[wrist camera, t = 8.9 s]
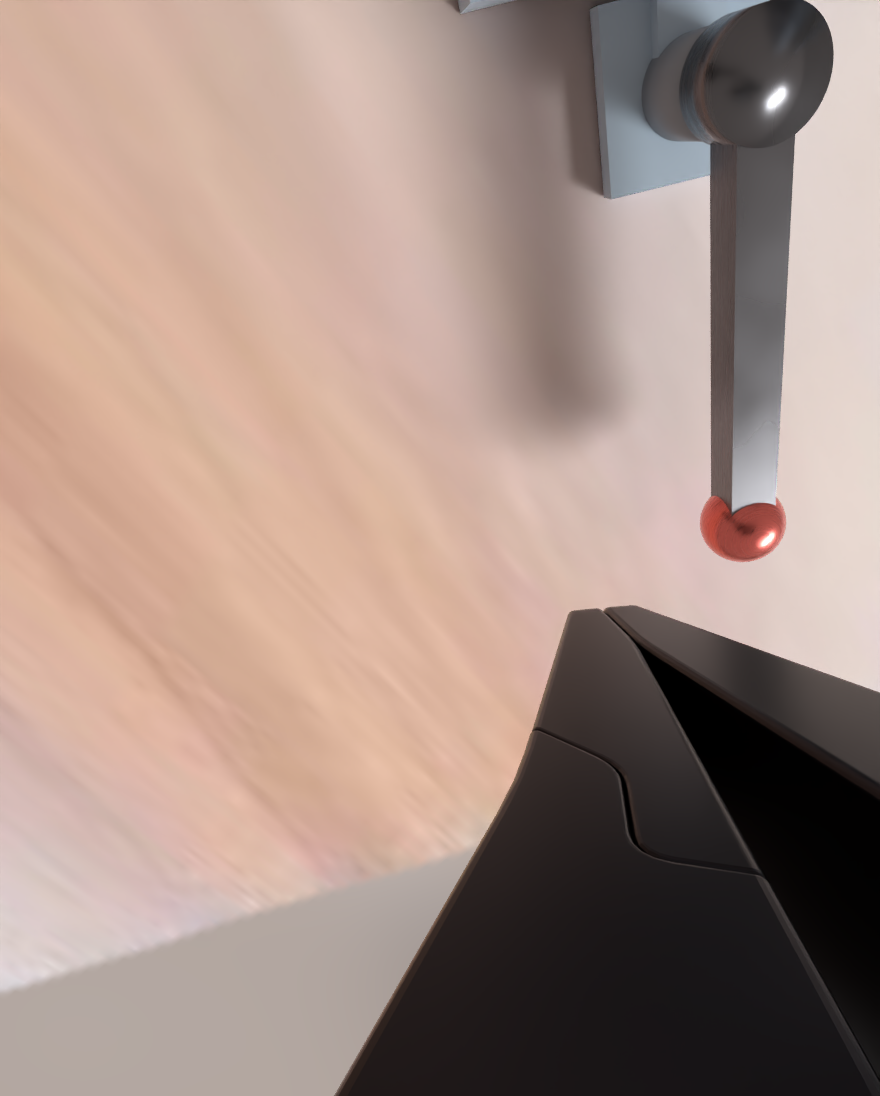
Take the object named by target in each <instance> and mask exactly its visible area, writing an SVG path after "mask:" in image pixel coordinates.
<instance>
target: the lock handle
mask: <svg viewBox="0 0 880 1096" xmlns="http://www.w3.org/2000/svg"><path fill="white" fill-rule="evenodd" d="M832 67H833V42H832V37H831V33H830V30H829V27H828V25H827V23H826V21H825V19H824V17H823V16H822V15H821V13H820V12H819V11H818V10H817V9H816V8H815V7H814V6H813V5H811V4H810V3H808V2H806V1H804V0H769V1H766V2H763V3H760V4H757V5H753V6H750V7H747V8H744V9H741V10H738V11H735V12H732V13H729V14H726V15H724V16H722V17H720V18H719V19H717V20H716V21H714V22H713V23H712V24H711V25H710V26H708V27H707V28H706V29H705V30H704V31H703V32H702V34H701V35H700V36H699V37H698V39H697V40H696V41H695V43H694V44H693V46H692V48H691V50H690V51H689V54H688V56H687V58H686V60H685V63H684V66H683V69H682V73H681V78H680V85H679V101H680V108H681V112H682V115H683V118H684V121H685V123H686V125H687V127H688V128H689V130H690V131H691V132H692V133H693V134H694V136H695V137H696V138H698V139H699V140H700V141H702V142H704V143H706V144H708V145H710V233H711V497H710V498H709V499H708V501H707V502H706V504H705V506H704V508H703V510H702V513H701V517H700V529H701V533H702V536H703V538H704V540H705V542H706V544H707V545H708V546H709V548H710V549H711V550H712V551H713V552H715V553H716V554H717V555H719V556H721V557H723V558H725V559H728V560H731V561H736V562H749V561H754V560H757V559H760V558H762V557H764V556H766V555H768V554H769V553H770V552H772V551H773V550H774V549H775V548H776V547H777V546H778V544H779V543H780V541H781V539H782V538H783V535H784V532H785V528H786V516H785V512H784V509H783V506H782V505H781V503H780V501H779V500H778V499H777V497H776V487H777V468H778V449H779V430H780V411H781V392H782V373H783V354H784V335H785V316H786V296H787V277H788V258H789V239H790V220H791V201H792V182H793V163H794V144H795V134H796V133H797V132H798V131H799V130H800V129H801V128H802V127H803V126H804V125H805V124H806V123H807V122H808V121H809V120H810V119H811V117H812V116H813V115H814V113H815V112H816V110H817V109H818V107H819V105H820V103H821V102H822V100H823V97H824V95H825V93H826V91H827V88H828V85H829V82H830V78H831V73H832Z"/></svg>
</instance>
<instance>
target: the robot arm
mask: <svg viewBox="0 0 880 1096" xmlns="http://www.w3.org/2000/svg"><path fill="white" fill-rule="evenodd" d="M334 1096H880V693H879V692H877V691H874V690H871V689H868V688H865V687H863V686H860V685H857V684H854V683H851V682H849V681H846V680H843V679H840V678H837V677H835V676H832V675H829V674H826V673H823V672H821V671H818V670H815V669H812V668H809V667H807V666H804V665H801V664H798V663H795V662H793V661H790V660H787V659H784V658H781V657H779V656H776V655H773V654H770V653H767V652H765V651H762V650H759V649H756V648H753V647H751V646H748V645H745V644H742V643H739V642H736V641H734V640H731V639H728V638H725V637H722V636H720V635H717V634H714V633H711V632H708V631H706V630H703V629H700V628H697V627H694V626H692V625H689V624H686V623H683V622H680V621H678V620H675V619H672V618H669V617H666V616H664V615H661V614H658V613H655V612H652V611H650V610H647V609H644V608H641V607H638V606H633V605H629V606H618V607H609V608H606V609H605V610H604V611H602V610H600V609H597V608H596V609H585V610H574V611H571V612H570V613H569V614H568V617H567V620H566V623H565V627H564V630H563V633H562V636H561V640H560V643H559V646H558V649H557V652H556V656H555V659H554V662H553V665H552V669H551V672H550V675H549V678H548V681H547V685H546V688H545V691H544V694H543V698H542V701H541V704H540V707H539V711H538V714H537V717H536V720H535V723H534V727H533V730H532V733H531V734H530V737H529V740H528V743H527V746H526V750H525V753H524V755H523V758H522V760H521V763H520V766H519V768H518V771H517V773H516V776H515V779H514V781H513V783H512V785H511V787H510V789H509V791H508V793H507V795H506V797H505V799H504V801H503V803H502V805H501V807H500V809H499V810H498V812H497V814H496V816H495V818H494V820H493V821H492V823H491V825H490V826H489V828H488V830H487V832H486V833H485V835H484V837H483V839H482V840H481V842H480V844H479V846H478V847H477V849H476V851H475V852H474V854H473V856H472V858H471V860H470V861H469V863H468V865H467V867H466V868H465V870H464V872H463V873H462V875H461V877H460V879H459V880H458V882H457V884H456V885H455V887H454V889H453V891H452V892H451V894H450V896H449V898H448V899H447V901H446V903H445V905H444V906H443V908H442V910H441V911H440V913H439V915H438V917H437V918H436V920H435V922H434V924H433V926H432V927H431V929H430V931H429V933H428V934H427V936H426V937H425V939H424V941H423V943H422V944H421V946H420V948H419V950H418V951H417V953H416V955H415V957H414V958H413V960H412V962H411V964H410V965H409V967H408V969H407V971H406V972H405V974H404V976H403V977H402V979H401V981H400V983H399V985H398V986H397V988H396V990H395V991H394V993H393V995H392V997H391V998H390V1000H389V1002H388V1003H387V1005H386V1007H385V1009H384V1010H383V1012H382V1014H381V1016H380V1017H379V1019H378V1021H377V1022H376V1024H375V1026H374V1028H373V1029H372V1031H371V1033H370V1035H369V1037H368V1038H367V1040H366V1042H365V1043H364V1045H363V1047H362V1049H361V1050H360V1052H359V1054H358V1055H357V1057H356V1059H355V1061H354V1062H353V1064H352V1066H351V1068H350V1070H349V1071H348V1073H347V1075H346V1076H345V1078H344V1080H343V1081H342V1083H341V1085H340V1087H339V1088H338V1090H337V1092H336V1094H335V1095H334Z"/></svg>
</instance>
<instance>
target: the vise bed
mask: <svg viewBox="0 0 880 1096" xmlns="http://www.w3.org/2000/svg"><path fill="white" fill-rule="evenodd" d="M511 1H515V0H458V4H459V11H460V14H463V13H467V12H471V11H475V10H479V9H483V8H487V7H491V6H495V5H499V4H503V3H507V2H511ZM766 1H769V0H618V1H613V2H609V3H605V4H601V5H598V6H596V7H594V8H592V9H590V21H591V34H592V47H593V60H594V74H595V87H596V100H597V113H598V126H599V139H600V153H601V166H602V179H603V192H604V198H608V199H615V198H619V197H623V196H627V195H631V194H635V193H639V192H643V191H647V190H651V189H655V188H659V187H664V186H668V185H672V184H676V183H680V182H684V181H688V180H692V179H696V178H700V177H704V176H708V175H710V145H708V144H706V143H704V142H702V141H700V140H699V139H698V138H696V137H695V136H694V134H693V133H692V132H691V131H690V130H689V128H688V127H687V125H686V123H685V121H684V118H683V115H682V112H681V108H680V101H679V85H680V78H681V73H682V69H683V66H684V63H685V60H686V58H687V56H688V54H689V51H690V50H691V48H692V46H693V44H694V43H695V41H696V40H697V39H698V37H699V36H700V35H701V34H702V32H703V31H704V30H705V29H706V28H707V27H708V26H710V25H711V24H712V23H713V22H714V21H716V20H717V19H719V18H720V17H722V16H724V15H726V14H729V13H732V12H735V11H738V10H741V9H744V8H747V7H750V6H753V5H757V4H760V3H763V2H766Z"/></svg>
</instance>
